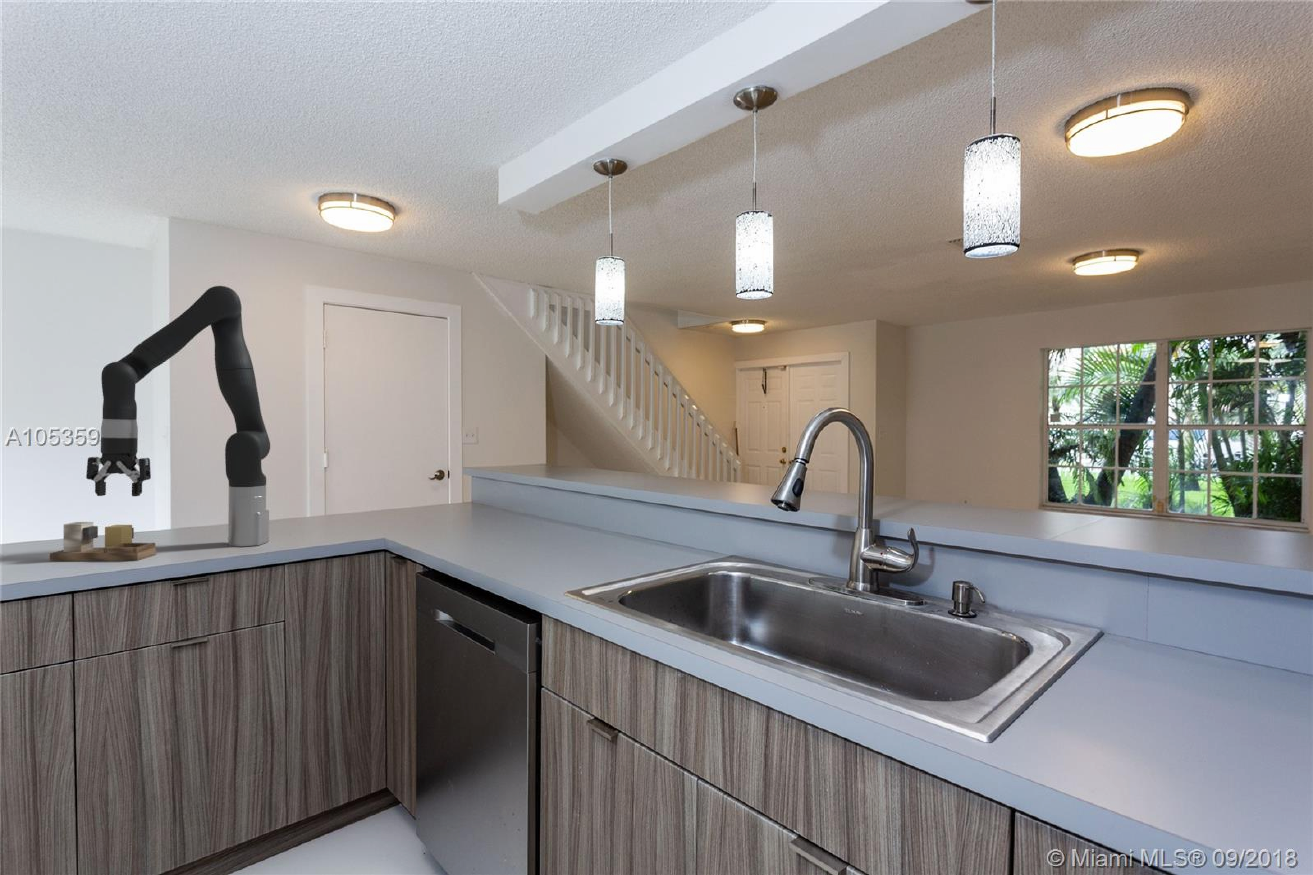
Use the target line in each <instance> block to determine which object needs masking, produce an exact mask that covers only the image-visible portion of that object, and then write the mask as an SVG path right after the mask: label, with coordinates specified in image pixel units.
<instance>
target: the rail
mask: <svg viewBox="0 0 1313 875" xmlns="http://www.w3.org/2000/svg"><path fill="white" fill-rule="evenodd" d="M98 538H99V526H98V525H94V521H73V522H70V523H63V549H61V550H58V551H57V550H56V551H53V552H49V562H111V561H113V562H115V561H117V562H120V561H121V562H122V561H125V562H126V561H127V562H130V561H133V562H134V561H135V562H136V561H140V560H144V559H147V558H150V557H154V556H156V555H157V547H156V542H132V543H122V544H118V545H114V546H110V547H106V548H105V547H94V540H95V539H98Z"/></svg>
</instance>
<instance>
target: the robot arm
mask: <svg viewBox="0 0 1313 875" xmlns="http://www.w3.org/2000/svg"><path fill="white" fill-rule="evenodd" d="M242 310H243V309H242V303H241V298H240V297H239V295H238V293H237V292H236V291H235V290H234V289H232V288H230V287H228V286H224V285H215V286H211V287H209V288H208V289H207V290H205V291H204V293H203V294H201V295H200V297H198V299H197V300H196V301H195V302H193V303H192V305H191V306H189V307H188V308H187V309H186V310H184V312H182V313H181V314H180V315H179V316H178V317H176V318H175V319H174V320H172V321H170V322H169V323H168V324H166V325H165V326H164V327H162V328H161V329H159V330H157V331H156V332H155V333H152V335H150V336H149V337H147V338H146V339H144V340H143V341H141V343H138V345H136V346H135V347H134V348H133V349H132V350H131V352H130V353H128V354H127V355H125V356H124V357H121V358H120V359H119V360H117V361H112V362H110V363H108V364H106V365H105V366H104V367H103V369H102V371H101V378H100V379H101V389H102V390H101V391H102V399H103V402H102V420H101V425H100V453H101V457H98V456H90V457H88V458H87V461H86V462H87V465H86V476H85V478H86V479H87V480H91V481H94V493H95V494H96V496H98V497H103V496H106V494H107V482H106V479H108V477H109V476H111V475H113V474H118V475H123V474H125V476H126V477H128V478H129V479H130V480H131V481H132V482H131V496H132V497H140V496H141V494H142V493H143V483H144V482H145V481H148V480H151V478H152V474H151V472H152V471H151V461H150V460H151V459H150V458H149V457H142V458H137V453H138V444H139V443H138V441H139V440H138V438H139V435H138V434H139V432H138V431H139V427H138V421H137V419H138V418H137V416H138V414H137V413H138V407H137V406H138V405H137V401H136V384H138V383H139V382H140V381H141V380H143V379H144V378H145V377H146V376H148V375H149V374H150V373H151V372H152V371H154V369H156V368H157V367H159V366H161V365H163V364H164V363H165V362H167V361H168V360H169V359H171V358H172V357H174V356H175V355H176V354H178V353H179V352H180V351H181V350H182V349H183V348H185V347H186V346H187V345H188V344H189V342H191V341H192V340H193V339H194V338H195V337H197V335H199V334H200V333H201V332H202V331H203V330H205V329H206V328H208V327H210V328H211V331H212V335H213V339H214V365H215V366H214V368H215V373H216V380H217V384H218V388H219V391H220V393H221V395H222V398H223V399H224V401H225V403H226V404H227V406H228V408H229V409H230V411H231V414H232V416H233V419H234V423H235V424H234V425H235V429H236V432H235V433H233V434H231V435H230V436H229V438H228V439H227V441H226V443H225V448H224V452H225V453H224V458H225V461H224V462H225V475H226V479H227V481H228V518H227V519H228V524H227V525H228V526H227V527H228V530H227V532H228V537H227V540H228V542H227V545H228V546H229V547H252V546H253V547H254V546H261V545H263V544H266V543H268V542H270V510H269V509H267V477H266V475H265V474H264V473H263V469H262V460H264V459H266V458H267V456H268V455H269V453H270V451H271V441H270V438H269V435H268V432H267V428H266V425H265V422H264V420H263V416H262V410H261V403H260V398H259V393H258V388H257V380H256V374H255V370H254V366H253V361H252V357H251V354H250V351H249V349H248V346H247V344H246V341H245V338H244V337H245V336H244V331H243V318H242V317H243V316H242ZM100 465H102V467H101V468H100ZM136 465H137V466H138V468H139V469H138V468H137V467H136ZM99 469H100V470H99Z"/></svg>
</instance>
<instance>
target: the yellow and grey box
mask: <svg viewBox="0 0 1313 875" xmlns="http://www.w3.org/2000/svg"><path fill="white" fill-rule="evenodd" d="M134 529H135V528H134V527H133V524H114V525H109V526H105V527H104V548H106V547H110V546H114V545H118V544H122V543H133V539H134V534H135V533H134V532H135V530H134Z"/></svg>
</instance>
